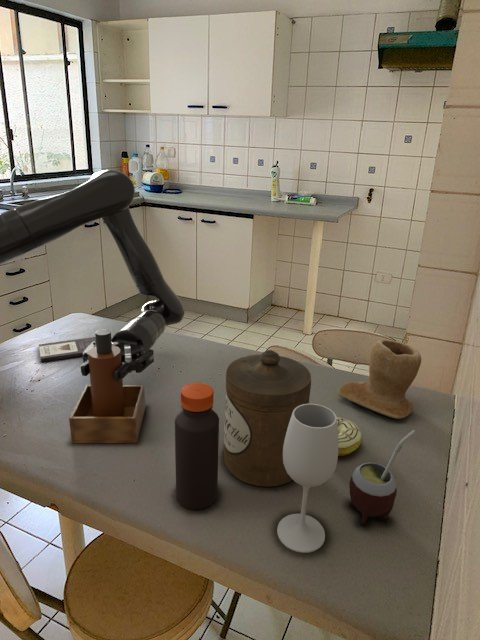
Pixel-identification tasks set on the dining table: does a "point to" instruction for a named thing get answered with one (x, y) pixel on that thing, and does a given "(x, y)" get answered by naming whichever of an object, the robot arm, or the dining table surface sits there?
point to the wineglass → (308, 470)
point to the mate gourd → (374, 488)
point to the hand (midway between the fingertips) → (99, 374)
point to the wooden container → (261, 415)
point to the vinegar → (196, 447)
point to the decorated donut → (347, 436)
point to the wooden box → (108, 419)
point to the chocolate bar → (64, 349)
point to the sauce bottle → (105, 377)
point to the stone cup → (386, 380)
